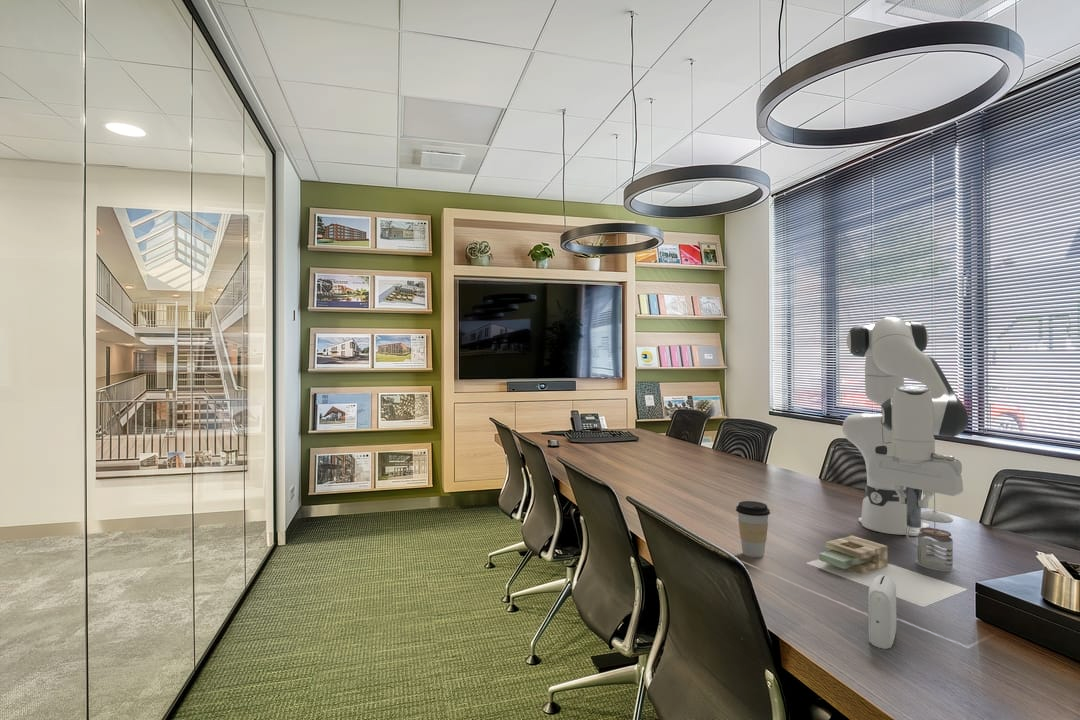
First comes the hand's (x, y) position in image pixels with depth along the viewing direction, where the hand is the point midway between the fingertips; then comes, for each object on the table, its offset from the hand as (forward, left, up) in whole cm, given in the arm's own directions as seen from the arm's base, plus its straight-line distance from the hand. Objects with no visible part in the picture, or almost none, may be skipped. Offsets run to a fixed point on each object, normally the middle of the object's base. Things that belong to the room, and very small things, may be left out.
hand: (913, 505), depth 131 cm
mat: (0, -8, -21) cm, 22 cm away
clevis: (0, -16, -20) cm, 26 cm away
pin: (0, 0, -5) cm, 5 cm away
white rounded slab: (+31, +10, -21) cm, 39 cm away
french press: (-20, -6, -21) cm, 30 cm away
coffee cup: (+17, -35, -21) cm, 44 cm away
